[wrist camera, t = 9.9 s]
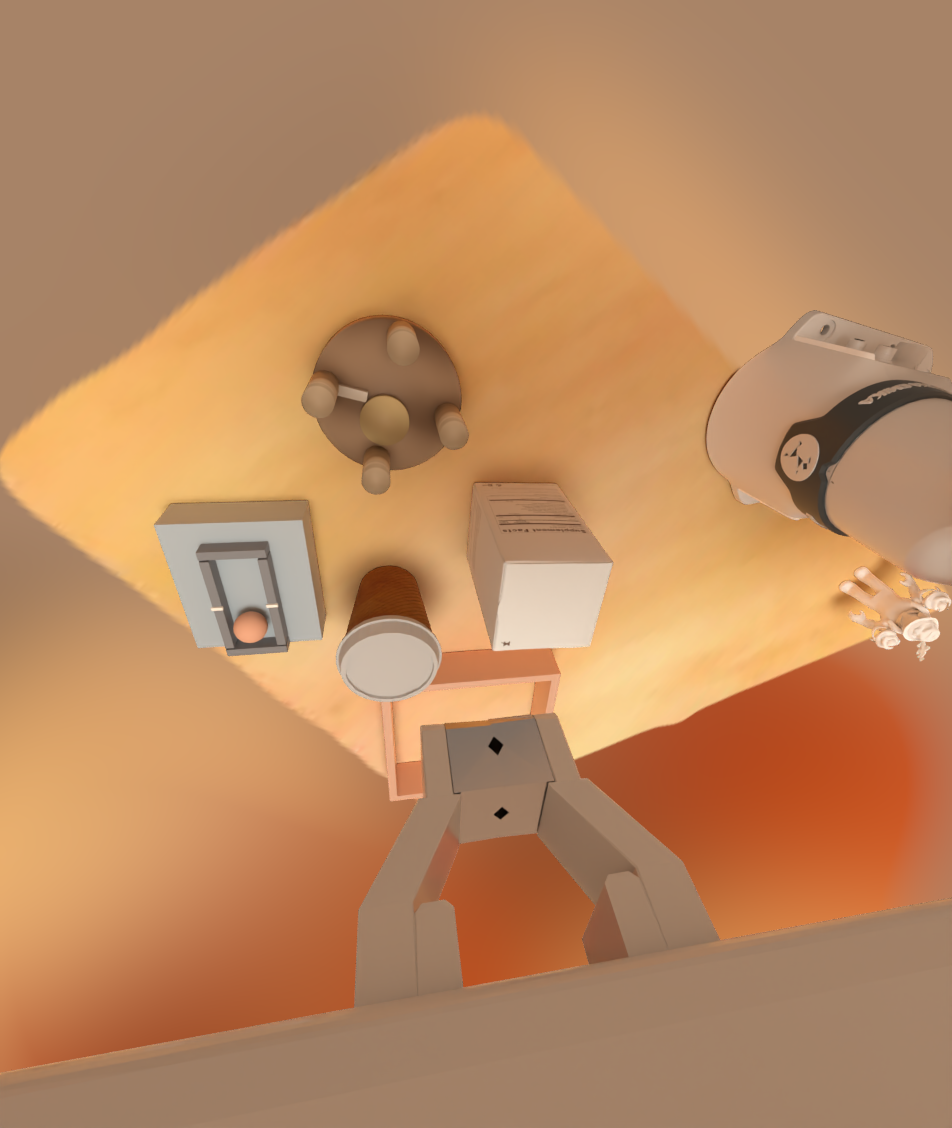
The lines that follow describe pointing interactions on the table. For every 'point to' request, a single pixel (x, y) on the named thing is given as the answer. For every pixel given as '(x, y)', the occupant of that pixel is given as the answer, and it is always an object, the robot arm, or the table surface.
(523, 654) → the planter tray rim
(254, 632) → the indicator ball
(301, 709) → the table surface
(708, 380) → the table surface
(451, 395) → the dial
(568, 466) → the table surface
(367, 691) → the disposable coffee cup
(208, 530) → the stand
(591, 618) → the supplement box
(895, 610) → the flower shoulder figurine
